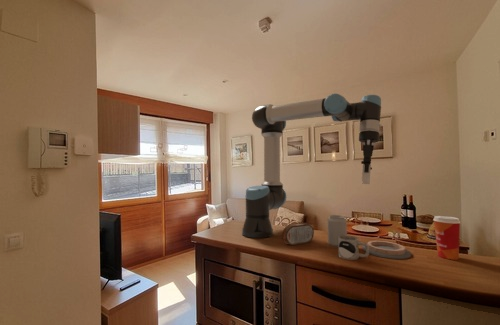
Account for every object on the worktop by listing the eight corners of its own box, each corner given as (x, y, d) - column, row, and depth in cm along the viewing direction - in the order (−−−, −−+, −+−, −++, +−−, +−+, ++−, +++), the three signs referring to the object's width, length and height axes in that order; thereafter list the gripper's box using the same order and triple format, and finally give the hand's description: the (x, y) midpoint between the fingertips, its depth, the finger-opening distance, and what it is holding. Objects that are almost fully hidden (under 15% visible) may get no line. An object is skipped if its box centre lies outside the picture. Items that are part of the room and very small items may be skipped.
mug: (336, 257, 82) (336, 238, 83) (340, 252, 88) (340, 234, 88) (367, 263, 77) (367, 243, 77) (370, 257, 82) (370, 238, 83)
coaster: (356, 251, 88) (356, 245, 88) (368, 242, 100) (368, 237, 100) (407, 262, 78) (407, 255, 78) (414, 250, 89) (413, 244, 90)
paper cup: (432, 252, 88) (431, 214, 89) (459, 255, 84) (457, 216, 85) (436, 258, 81) (434, 218, 82) (465, 262, 78) (463, 220, 78)
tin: (310, 240, 104) (310, 221, 104) (315, 242, 101) (314, 222, 101) (282, 244, 97) (281, 224, 98) (286, 247, 94) (286, 226, 95)
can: (343, 242, 100) (343, 214, 101) (349, 248, 93) (349, 217, 94) (326, 242, 101) (325, 214, 102) (330, 247, 94) (329, 217, 94)
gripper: (381, 123, 85) (377, 181, 82) (378, 139, 107) (375, 185, 104) (358, 123, 88) (354, 179, 86) (360, 139, 110) (356, 184, 108)
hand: (365, 182), depth 95 cm, fingers open, 13 cm apart
